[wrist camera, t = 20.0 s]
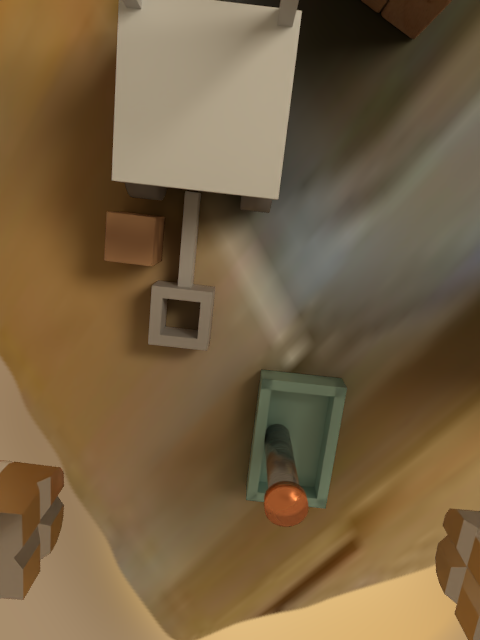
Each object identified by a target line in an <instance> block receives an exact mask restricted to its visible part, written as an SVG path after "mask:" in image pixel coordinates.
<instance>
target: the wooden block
mask: <svg viewBox="0 0 480 640" xmlns="http://www.w3.org/2000/svg"><path fill="white" fill-rule="evenodd" d="M361 1H362V2H363V3H365V4H366V5H367V6H369V7H370V8H371V9H373V10H374V11H375V12H378V13H379V12H380V11H382V12H381V15H382V17H383V18H385V19H386V20H387V21H389V22H390V23H391V24H393V25H394V26H395V27H397V28H398V29H399V30H401V31H402V32H403V33H405V34H406V35H407V36H409V37H410V38H412V39H414V38H416V37H417V36H418V35H419V34H420V33H421V32H422V31H423V30H424V29H425V28H426V27H427V26H428V25H429V24H430V23H431V22H432V21H433V20H434V19H435V18H436V17H437V16H438V15H439V14H440V13H441V12H442V11H443V10H444V8H445V7H446V6H447V5H448V4H449V3H450V2H451V1H452V0H361Z"/></svg>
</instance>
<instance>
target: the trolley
mask: <svg viewBox="0 0 480 640" xmlns="http://www.w3.org/2000/svg"><path fill="white" fill-rule="evenodd" d="M298 2H299V0H281V1H280V7H279V8H275V7H266V6H258V5H250V4H241V3H233V2H225V1H216V0H119V11H118V35H117V60H116V85H115V110H114V134H113V159H112V180H113V181H117V182H125V186H126V189H127V192H128V194H129V195H130V196H131V197H135V198H144V199H153V200H163V199H164V197H165V194H166V191H167V187H170V188H178V189H187V190H196V191H205V192H213V193H222V194H231V195H240V196H241V204H240V210H249V211H258V212H266V213H269V212H270V208H271V203H272V199H274V200H278V197H279V189H280V181H281V173H282V165H283V157H284V149H285V141H286V133H287V125H288V118H289V110H290V102H291V94H292V86H293V78H294V70H295V62H296V54H297V47H298V39H299V31H300V23H301V15H302V11H300V10H297V6H298ZM200 200H201V193H196V192H188V191H185V199H184V212H183V225H182V238H181V250H180V263H179V276H178V283H176V282H167V281H157V282H156V283H155V284H153V285H152V291H151V306H150V322H149V337H148V344H150V345H159V346H168V347H177V348H187V349H196V350H205V351H207V350H208V347H209V343H210V336H211V326H212V316H213V306H214V295H215V287H212V286H203V285H194V284H193V281H194V270H195V258H196V246H197V235H198V223H199V212H200ZM168 299H175V300H184V301H193V302H201V305H200V315H199V326H198V330H192V329H183V328H174V327H166V315H167V301H168Z"/></svg>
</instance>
